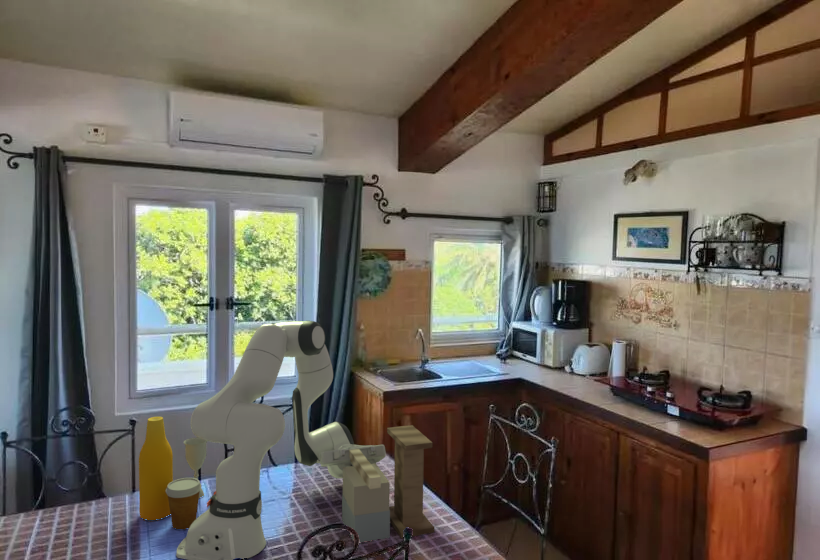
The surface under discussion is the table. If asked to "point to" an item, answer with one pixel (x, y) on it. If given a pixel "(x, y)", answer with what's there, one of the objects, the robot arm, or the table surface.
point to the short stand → (409, 481)
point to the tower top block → (365, 492)
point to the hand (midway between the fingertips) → (358, 450)
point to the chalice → (195, 455)
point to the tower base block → (367, 523)
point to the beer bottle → (155, 471)
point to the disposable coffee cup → (183, 501)
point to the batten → (365, 469)
